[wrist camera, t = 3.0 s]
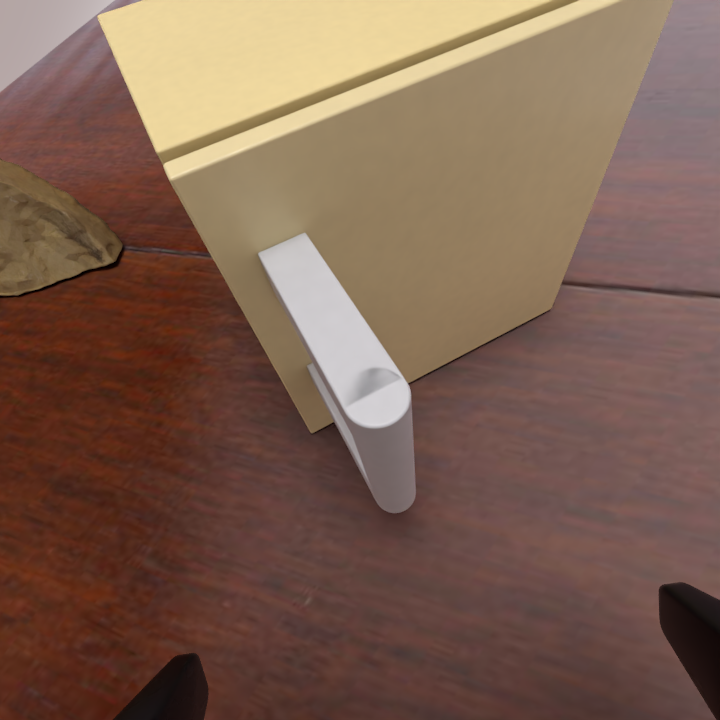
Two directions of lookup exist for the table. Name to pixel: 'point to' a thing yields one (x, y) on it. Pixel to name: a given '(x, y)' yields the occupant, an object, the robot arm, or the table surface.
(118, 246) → the rock
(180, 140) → the fridge
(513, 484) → the table surface
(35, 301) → the table surface
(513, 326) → the fridge door
